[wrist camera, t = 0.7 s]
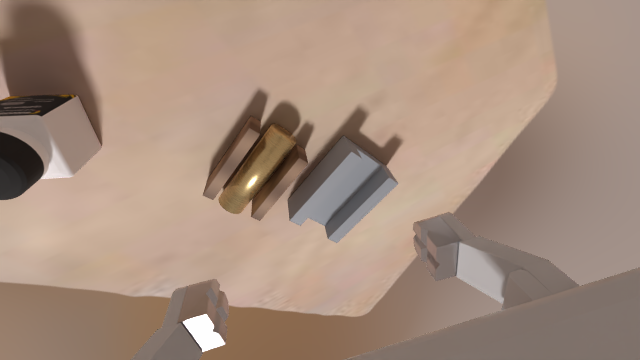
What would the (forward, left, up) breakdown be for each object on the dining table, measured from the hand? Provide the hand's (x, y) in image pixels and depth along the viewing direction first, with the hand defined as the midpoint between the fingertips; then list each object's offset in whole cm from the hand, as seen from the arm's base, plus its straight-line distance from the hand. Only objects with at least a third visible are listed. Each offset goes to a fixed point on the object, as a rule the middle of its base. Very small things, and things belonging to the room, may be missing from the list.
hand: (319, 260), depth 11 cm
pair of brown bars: (+13, +4, -29) cm, 32 cm away
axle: (+13, +4, -28) cm, 31 cm away
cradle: (+9, +16, -29) cm, 35 cm away
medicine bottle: (+21, -19, -30) cm, 41 cm away
